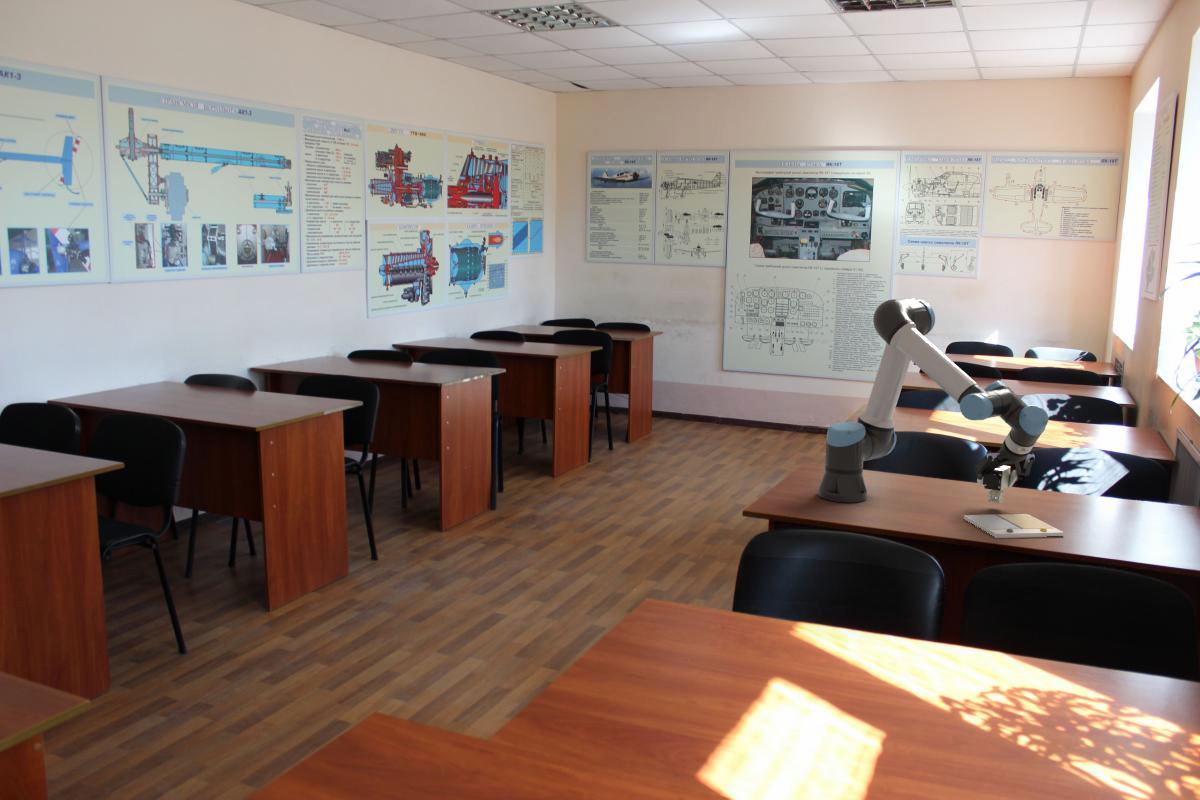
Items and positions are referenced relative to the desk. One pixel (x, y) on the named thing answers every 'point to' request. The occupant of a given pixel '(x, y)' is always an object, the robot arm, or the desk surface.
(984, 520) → the board
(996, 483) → the pneumatic valve
